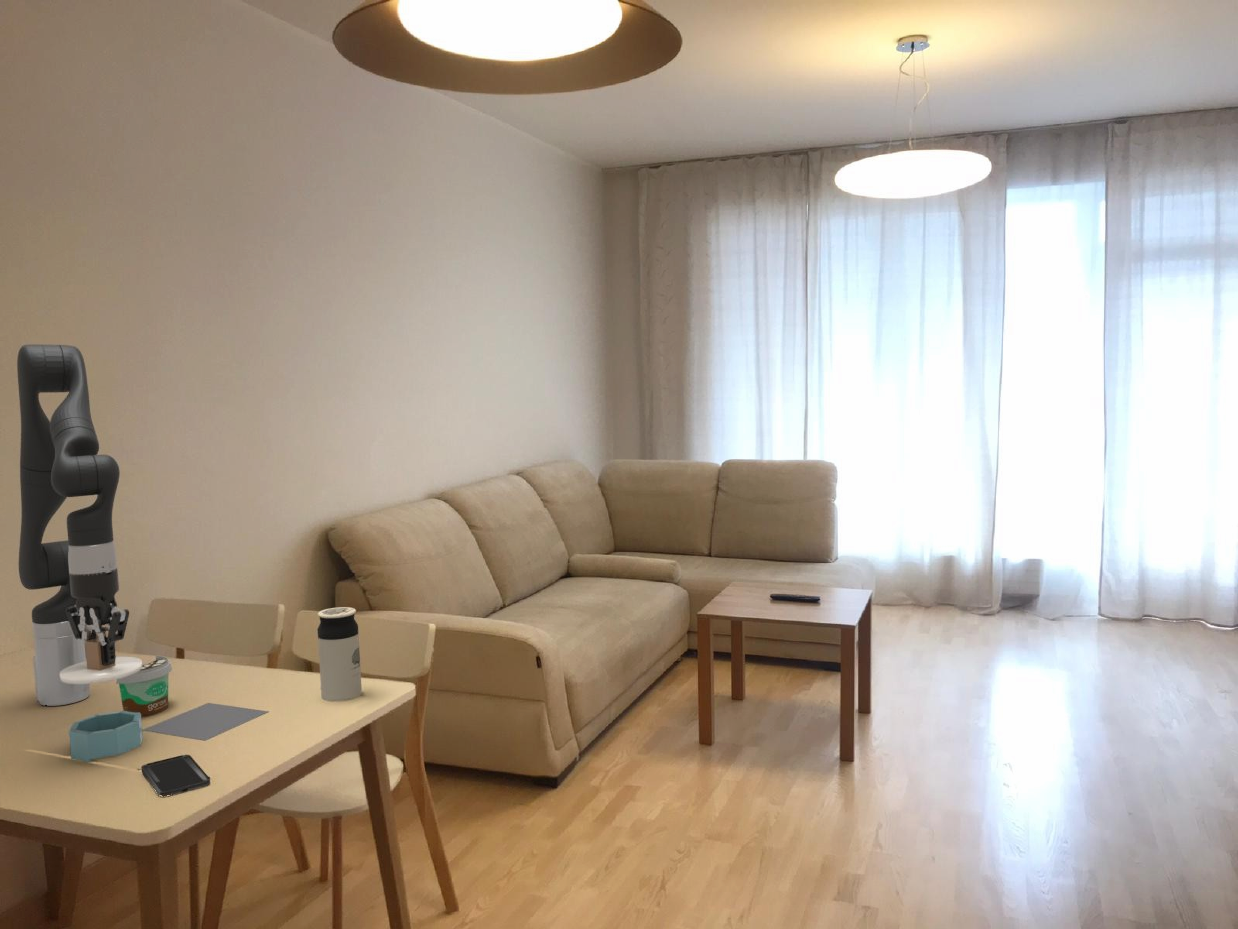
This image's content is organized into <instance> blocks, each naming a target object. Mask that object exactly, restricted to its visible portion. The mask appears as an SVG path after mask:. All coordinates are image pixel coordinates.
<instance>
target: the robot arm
mask: <svg viewBox="0 0 1238 929" xmlns="http://www.w3.org/2000/svg"><path fill="white" fill-rule="evenodd" d="M16 366H17V367H16V368H17V369H16V370H17V385H18V387H17V388H18V398H19V412H20V451H19V452H20V455H19V456H20V457H19V484H20V500H21V502H20V503H21V520H20V522H21V523H20V533H19V535H20V536H19V550H18V576H19V579H20V580H19V581H20V583H21V585H22V586H23V588H24V589H27V590H41V589H43V590H44V589H49V588H56V587H60V589H59V590H58V591H57V592H56V593H55V594H54V596H52V597H50V598H49V599H46V601H43V602H41V603H39V604H37V605H35V606H34V607H33V608H32V609H31V624H32V632H33V633H32V634H33V642H34V644H33V645H34V653H35V654H34V656H33V657H32V662H33V664H32V665H33V673H34V685H35V692H36V693H35V695H36V701H37V702H39V704H40V705H42V706H45V705H47V706H46V707H54V706H56V707H57V706H65V705H69V704H70V705H71V704H74V703H77V702H80V701H83V700H85V699H87V698H88V697H90V684H68V683H64V682H62V681H60V672H61V671H62V670H63V669H65V668H67V667H69V666H72V665H75V664H78V663H81V662H85V661H86V650H85V641H88V640H91V639H95V638H98V637H99V639H100V643H101V646H100V648H101V660H102V665H103V666H108V665H111V664H114V663H115V659H116V657H117V655H116V642H118V641H122V640H124V637H125V633H126V629H127V626H128V620H129V616H130V610H129V609H128V608H127V609H126V608H125V609H121V608H119V607H118V604H117V601H116V597H115V595H116V593H118V592H119V591H120V583H119V572H118V571H119V570H118V560H117V551H116V547H115V542H114V530H113V528H114V527H113V508H114V502H115V497H116V493H117V489H118V486H119V481H120V466H119V464H118V462H117V461H116V459H115V458H114V457H112V455H108V454H98V453H99V450H100V442H99V439H98V436H97V432H96V430H95V426H94V423H93V419H92V414H91V406H90V393H89V385H88V377H87V369H86V363H85V361H84V357H83V354H82V352H81V351H80V348H78V347H77V346H74V345H69V344H68V345H67V344H40V343H39V344H32V343H31V344H24V345H21V347H20V348H19V350H18V353H17V362H16ZM40 393H41V394H42V393H43V394H44V393H45V394H46V393H67V395H66V397H65V398H64V399H63V400H62V402H61V403H60V404H59V405H58V406H57V407H56V408H55V410H54V412H53V413H52V415H51V418H50V419H49V418H48V416H47V414H46V413H45V411H44V410H43V408H42V406H41V403H40V399H39V395H40ZM96 495H97V496H96ZM87 496H96V499H95V501H94V502H93V503H92V504H91V505H90V506H87V507H84V508H80V509H77V510H73V511H71V512H70V513H68V515H67V516H66V530H67V539H66V540H61V541H60V540H59V541H51V542H50V541H49V542H43V543H42V541H43V537H44V535H45V532H46V528H47V527H48V525H49V523H50V521H51V519H52V518H53V516H54V515H55V514H56V512H58V510H59V509H60V507H61V506H62V505H63V503H64V502H65V500H66V499H67V498H75V497H76V498H78V497H87ZM105 625H107V626H105ZM106 632H107V634H106Z"/></svg>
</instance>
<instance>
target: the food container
mask: <svg viewBox="0 0 1238 929" xmlns="http://www.w3.org/2000/svg"><path fill="white" fill-rule="evenodd" d="M172 670H173V667H172V665H171V661H170V660H169V659H168V657H167V656H163V655H155V660H154V661H151V662H149V663H145V664H142V669H141V670H140V671H138V672H136V673H134V674H132V675H129V676H127V677H123V678H120V679H116V682H115V683H116V684H118V686H119V693H120V698H121V704H122V711H128V712H134V713H141V718H145V717H149V716H154V715H157V714H159V713H162V712H163V711H166V710H167V709H168V707H169V675H170V673H171V672H172Z"/></svg>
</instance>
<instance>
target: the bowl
mask: <svg viewBox="0 0 1238 929" xmlns="http://www.w3.org/2000/svg"><path fill="white" fill-rule="evenodd" d="M71 724H72V725H71V726H70V728H69V730H68V736H69V738H68V739H69V746H70V759H71V760H74V759H75V760H76V761H79V760H80V761H81V762H85V763H95V762H96V760H95V759H100V758H101V759H102V758H108V757H114V756H119V755H121V754H125V753H126V752H129V751H132V750H133V749H136V748H138V747H141V745H142V742H143V737H144V736H143V734H144V733H143V732H144V731H142V730H143V722H142V717H141V713H134V712H128V711H123V710H120V711H119V710H118V711H112V712H111V711H110V712H106V713H104V712H103V713H98V714H97V713H96V714H93V715H91V716H88V717H85V718H82V719H80V720H78V721H75V722H73V723H71ZM75 760H74V761H75Z"/></svg>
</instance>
